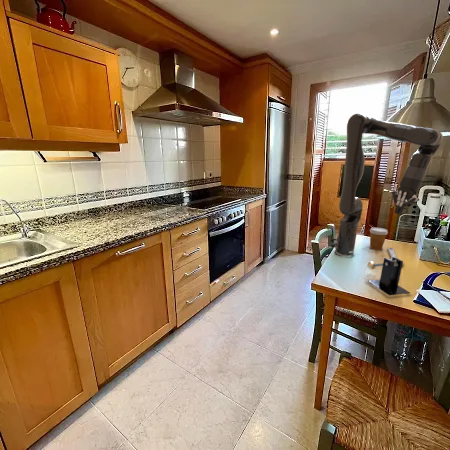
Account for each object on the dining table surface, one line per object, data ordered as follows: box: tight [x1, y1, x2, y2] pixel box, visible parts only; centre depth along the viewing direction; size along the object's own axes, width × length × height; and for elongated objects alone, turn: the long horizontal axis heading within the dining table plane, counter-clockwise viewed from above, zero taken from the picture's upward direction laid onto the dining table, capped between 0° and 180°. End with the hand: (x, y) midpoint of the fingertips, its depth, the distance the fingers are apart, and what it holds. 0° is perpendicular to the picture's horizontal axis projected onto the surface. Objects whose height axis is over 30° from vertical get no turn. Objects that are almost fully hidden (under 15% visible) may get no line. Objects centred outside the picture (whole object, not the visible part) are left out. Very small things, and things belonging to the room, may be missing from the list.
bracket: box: [368, 257, 411, 296], centre depth 103 cm, size 12×10×14 cm
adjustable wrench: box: [387, 247, 404, 266], centre depth 136 cm, size 25×6×2 cm, turn 148°
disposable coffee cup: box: [369, 227, 389, 251], centre depth 149 cm, size 10×10×12 cm
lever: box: [367, 260, 398, 271], centre depth 108 cm, size 15×4×4 cm, turn 10°
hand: (397, 213), depth 114 cm, fingers closed
